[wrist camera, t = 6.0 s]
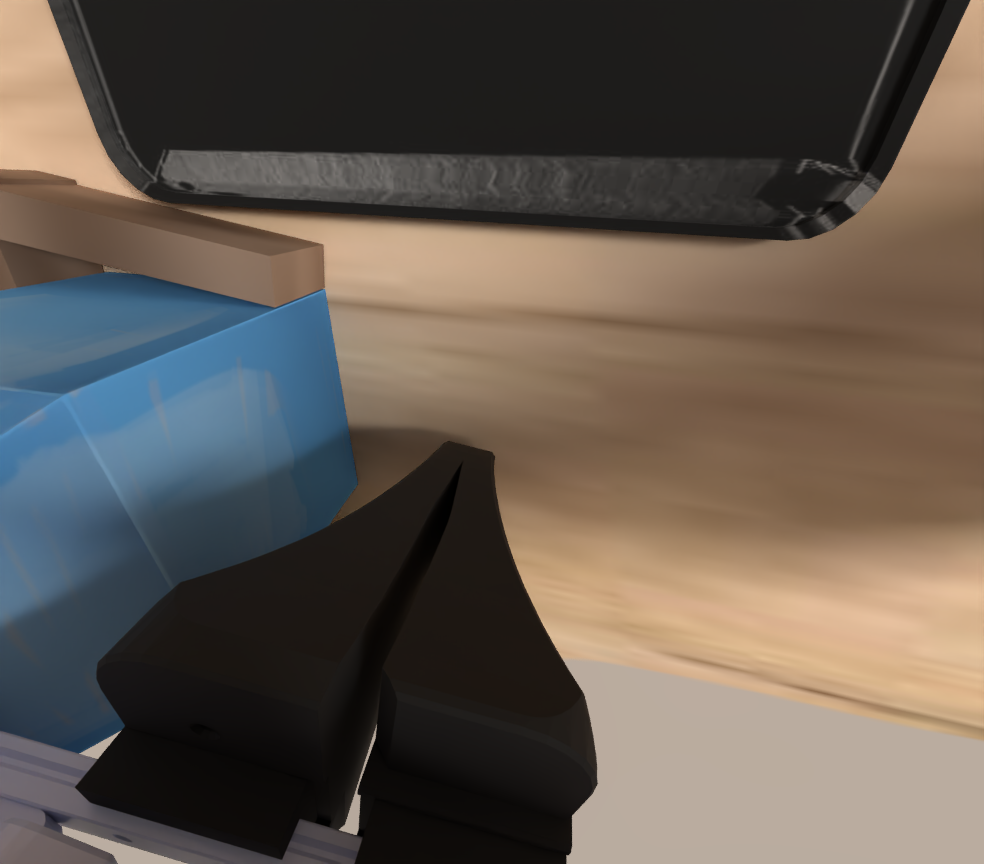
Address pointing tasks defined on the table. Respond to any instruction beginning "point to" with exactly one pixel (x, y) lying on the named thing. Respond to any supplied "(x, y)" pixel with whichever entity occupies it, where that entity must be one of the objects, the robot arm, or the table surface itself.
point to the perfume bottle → (146, 468)
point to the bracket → (143, 243)
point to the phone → (514, 106)
